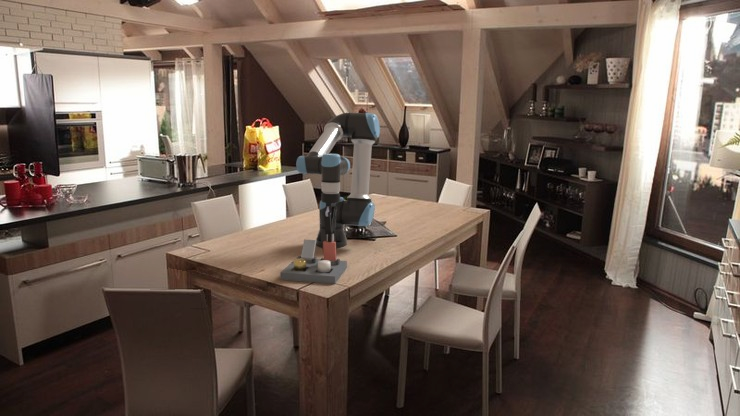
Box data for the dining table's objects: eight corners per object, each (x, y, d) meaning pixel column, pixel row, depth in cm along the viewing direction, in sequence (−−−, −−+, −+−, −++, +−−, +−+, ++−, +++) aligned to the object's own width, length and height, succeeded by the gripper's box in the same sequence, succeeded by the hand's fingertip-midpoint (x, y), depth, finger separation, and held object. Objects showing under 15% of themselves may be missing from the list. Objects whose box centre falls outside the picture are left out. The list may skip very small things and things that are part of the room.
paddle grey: (301, 261, 210) (305, 240, 213) (312, 262, 209) (316, 241, 212) (300, 260, 208) (304, 239, 212) (311, 261, 207) (315, 240, 211)
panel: (297, 264, 215) (296, 253, 214) (347, 267, 212) (347, 256, 211) (280, 279, 196) (280, 267, 195) (335, 283, 192) (335, 271, 191)
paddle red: (324, 261, 208) (324, 240, 206) (336, 262, 208) (335, 241, 205) (323, 263, 207) (322, 242, 204) (335, 264, 206) (334, 243, 203)
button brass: (296, 266, 203) (295, 258, 202) (307, 267, 202) (307, 258, 202) (291, 270, 198) (291, 261, 198) (304, 271, 197) (304, 262, 197)
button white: (319, 268, 201) (319, 259, 201) (331, 268, 201) (331, 260, 200) (316, 272, 197) (316, 263, 196) (328, 272, 196) (328, 264, 195)
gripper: (325, 189, 209) (325, 244, 213) (317, 194, 197) (317, 252, 201) (343, 190, 208) (342, 246, 212) (335, 194, 196) (335, 253, 200)
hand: (330, 249), depth 206 cm, fingers closed
